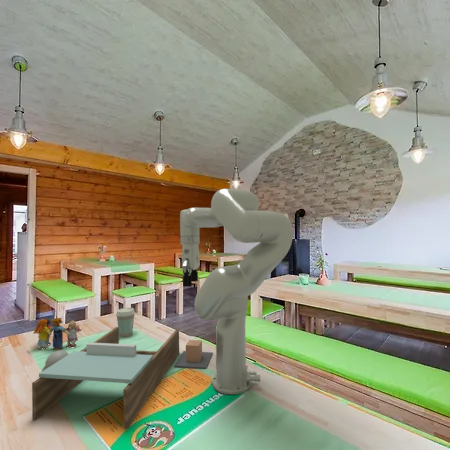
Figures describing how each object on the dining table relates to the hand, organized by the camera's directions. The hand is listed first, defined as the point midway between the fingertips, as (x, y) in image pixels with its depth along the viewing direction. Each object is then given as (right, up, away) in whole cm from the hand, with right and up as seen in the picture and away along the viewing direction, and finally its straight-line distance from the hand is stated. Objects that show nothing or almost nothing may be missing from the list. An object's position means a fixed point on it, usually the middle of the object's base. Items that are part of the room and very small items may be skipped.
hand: (190, 283), depth 109 cm
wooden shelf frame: (-21, -28, -17) cm, 40 cm away
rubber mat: (+2, -28, -5) cm, 29 cm away
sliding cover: (-23, -18, -29) cm, 41 cm away
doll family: (-60, -30, +8) cm, 67 cm away
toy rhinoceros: (-42, -29, -15) cm, 54 cm away
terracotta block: (+2, -28, -5) cm, 28 cm away
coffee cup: (-34, -29, +22) cm, 50 cm away
